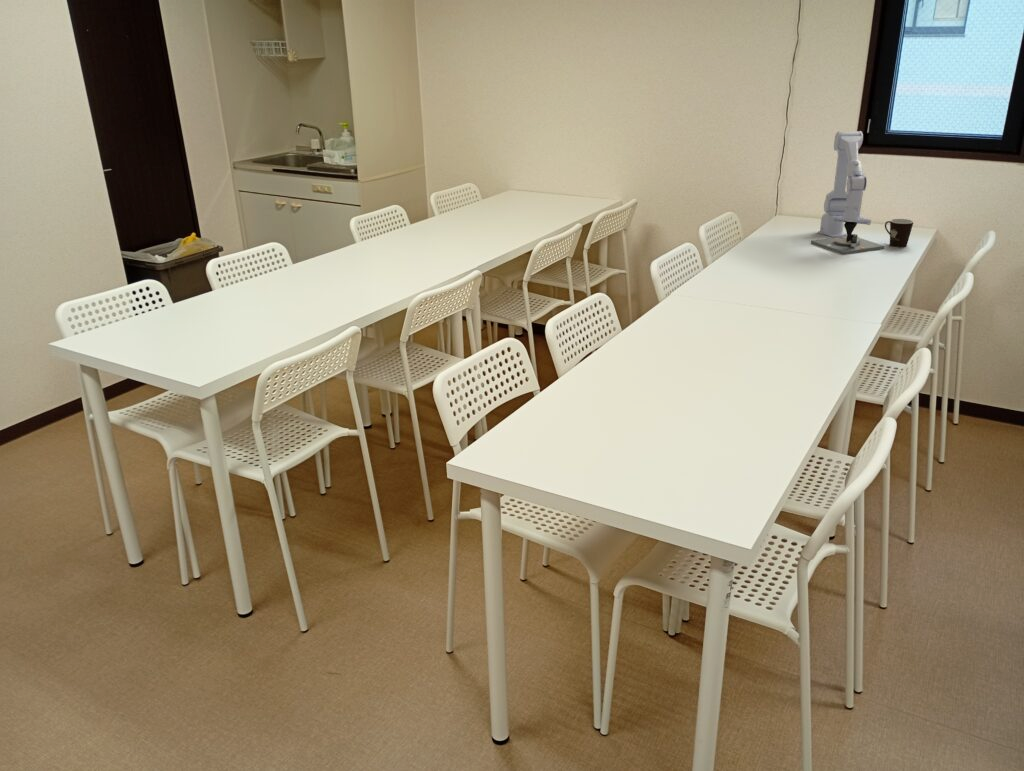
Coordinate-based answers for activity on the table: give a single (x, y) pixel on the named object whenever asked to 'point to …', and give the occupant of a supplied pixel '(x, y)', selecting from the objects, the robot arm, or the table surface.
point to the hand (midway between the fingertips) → (848, 240)
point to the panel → (844, 250)
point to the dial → (853, 242)
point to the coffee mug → (899, 232)
